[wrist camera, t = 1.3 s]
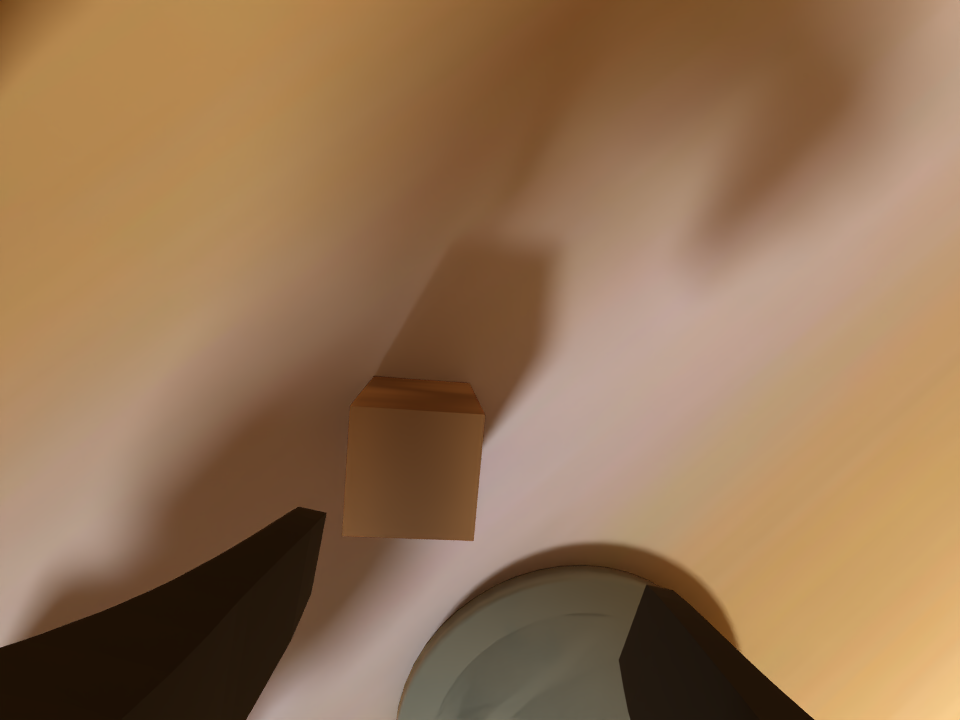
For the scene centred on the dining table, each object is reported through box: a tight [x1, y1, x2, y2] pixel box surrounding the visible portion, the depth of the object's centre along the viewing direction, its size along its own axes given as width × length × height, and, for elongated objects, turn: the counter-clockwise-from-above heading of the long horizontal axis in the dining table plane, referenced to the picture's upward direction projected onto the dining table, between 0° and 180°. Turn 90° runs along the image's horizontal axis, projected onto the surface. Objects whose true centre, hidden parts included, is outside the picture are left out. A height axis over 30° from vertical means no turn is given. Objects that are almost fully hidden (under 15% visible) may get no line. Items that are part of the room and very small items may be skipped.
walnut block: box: [342, 376, 485, 541], centre depth 17 cm, size 4×4×6 cm
